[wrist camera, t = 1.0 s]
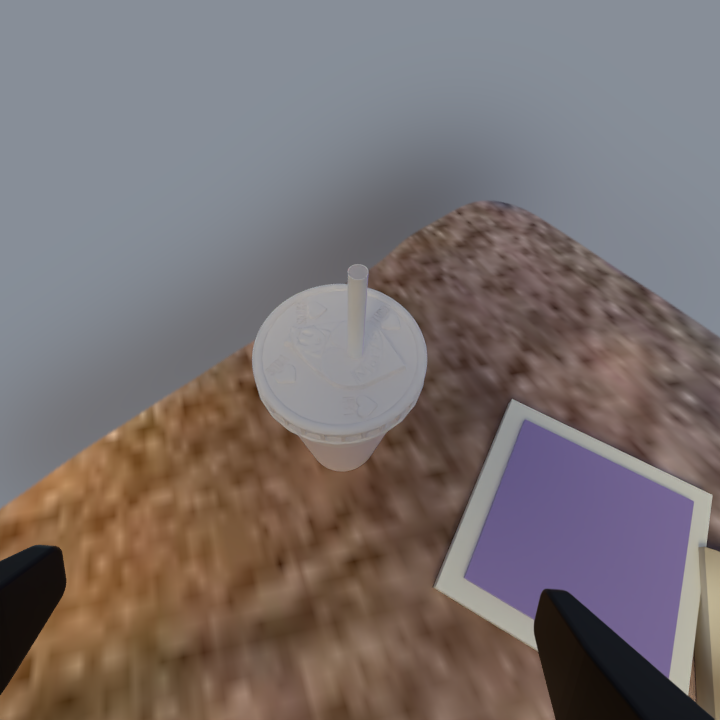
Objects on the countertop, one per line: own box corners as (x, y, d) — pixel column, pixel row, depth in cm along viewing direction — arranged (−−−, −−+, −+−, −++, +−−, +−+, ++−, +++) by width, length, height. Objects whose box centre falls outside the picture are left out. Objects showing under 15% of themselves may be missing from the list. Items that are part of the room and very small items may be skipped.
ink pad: (672, 733, 17) (688, 740, 16) (432, 587, 20) (436, 587, 19) (703, 497, 22) (716, 493, 21) (508, 403, 25) (513, 397, 24)
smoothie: (382, 513, 21) (431, 406, 9) (266, 476, 22) (168, 332, 10) (410, 403, 24) (474, 213, 12) (308, 374, 25) (272, 168, 13)
